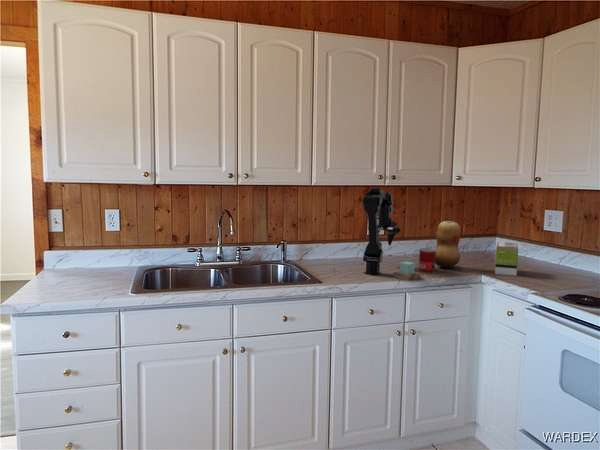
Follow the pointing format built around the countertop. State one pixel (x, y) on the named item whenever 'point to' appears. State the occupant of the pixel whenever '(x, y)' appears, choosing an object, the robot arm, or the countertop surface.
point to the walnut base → (406, 276)
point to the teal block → (407, 268)
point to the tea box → (506, 258)
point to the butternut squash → (447, 244)
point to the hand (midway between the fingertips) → (383, 244)
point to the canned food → (427, 259)
